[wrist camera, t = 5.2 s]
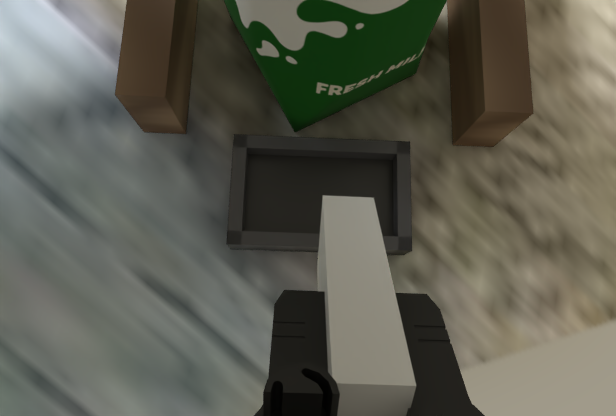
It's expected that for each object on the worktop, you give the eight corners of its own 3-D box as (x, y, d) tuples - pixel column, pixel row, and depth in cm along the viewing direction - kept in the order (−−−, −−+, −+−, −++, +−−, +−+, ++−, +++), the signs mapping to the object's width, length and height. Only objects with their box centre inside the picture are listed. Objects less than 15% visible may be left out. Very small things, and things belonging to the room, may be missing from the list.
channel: (144, 132, 23) (114, 94, 19) (165, -63, 26) (143, -131, 22) (493, 146, 24) (533, 113, 20) (481, -46, 26) (515, -109, 22)
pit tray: (230, 248, 22) (226, 244, 21) (237, 145, 23) (233, 134, 22) (403, 255, 22) (412, 250, 21) (402, 152, 23) (410, 141, 22)
